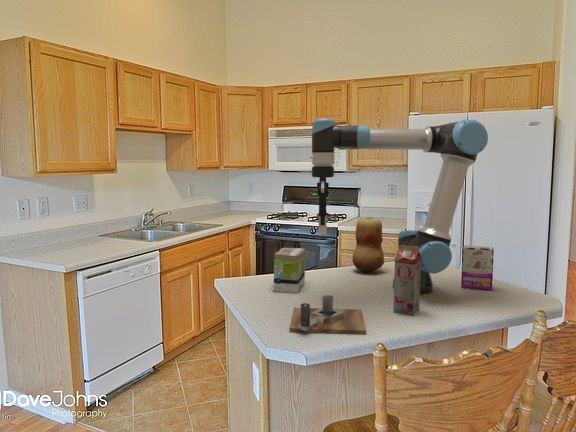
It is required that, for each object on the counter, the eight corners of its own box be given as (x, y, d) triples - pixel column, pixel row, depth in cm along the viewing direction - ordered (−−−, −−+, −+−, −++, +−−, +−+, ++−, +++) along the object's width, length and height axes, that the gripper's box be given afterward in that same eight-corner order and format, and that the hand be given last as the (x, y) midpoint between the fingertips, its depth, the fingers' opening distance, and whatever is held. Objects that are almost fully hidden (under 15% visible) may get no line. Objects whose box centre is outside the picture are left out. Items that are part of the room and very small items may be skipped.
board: (361, 313, 142) (361, 289, 141) (366, 334, 124) (366, 307, 123) (294, 311, 144) (294, 287, 143) (289, 332, 126) (289, 305, 125)
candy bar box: (491, 287, 170) (493, 246, 168) (492, 291, 165) (494, 249, 163) (460, 285, 174) (462, 244, 172) (460, 288, 170) (462, 247, 168)
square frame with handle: (325, 312, 139) (325, 291, 138) (343, 317, 134) (344, 295, 133) (292, 326, 126) (292, 303, 126) (311, 332, 122) (311, 308, 121)
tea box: (298, 293, 163) (299, 255, 162) (273, 292, 165) (272, 254, 164) (305, 282, 178) (305, 247, 176) (281, 281, 180) (281, 246, 178)
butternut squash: (354, 275, 189) (355, 219, 186) (350, 268, 202) (351, 215, 199) (386, 275, 189) (388, 218, 186) (380, 268, 202) (381, 215, 199)
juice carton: (413, 316, 139) (416, 248, 136) (393, 312, 142) (395, 246, 139) (419, 310, 144) (421, 245, 142) (399, 306, 148) (401, 243, 145)
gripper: (312, 165, 154) (312, 231, 156) (311, 165, 141) (310, 237, 144) (333, 165, 153) (333, 231, 156) (334, 165, 140) (333, 237, 143)
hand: (322, 234), depth 150 cm, fingers closed
